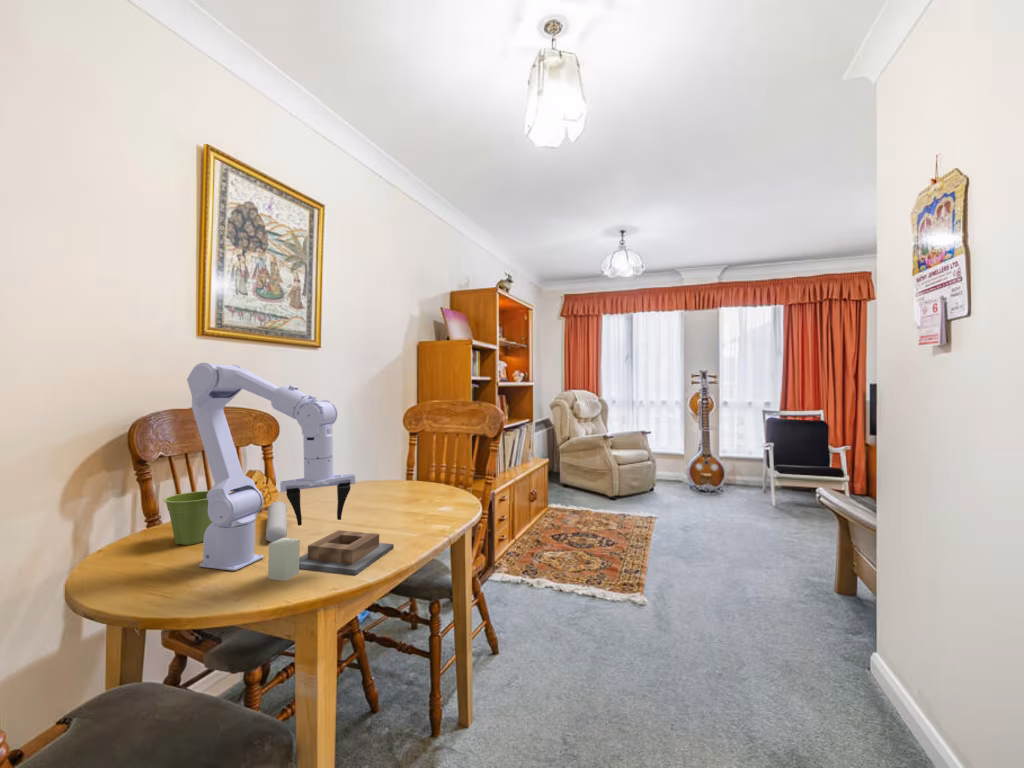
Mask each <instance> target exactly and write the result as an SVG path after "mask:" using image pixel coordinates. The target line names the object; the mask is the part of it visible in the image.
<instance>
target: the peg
mask: <svg viewBox="0 0 1024 768" xmlns="http://www.w3.org/2000/svg"><path fill="white" fill-rule="evenodd" d="M300 544H301V541H300V538H290V537H285V538H281V539H279V540H277V541H274V542H272V543H271V542H269V543H268V560H267V561H268V563H267V564H268V566H267V570H268V573H267V579H268V580H274V581H283V582H286V581H287V580H289V579H291V578H293V577H294V576H297V575H298V574H299V573H300V568H299V557H300V552H301V551H300V547H301V546H300Z"/></svg>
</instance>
